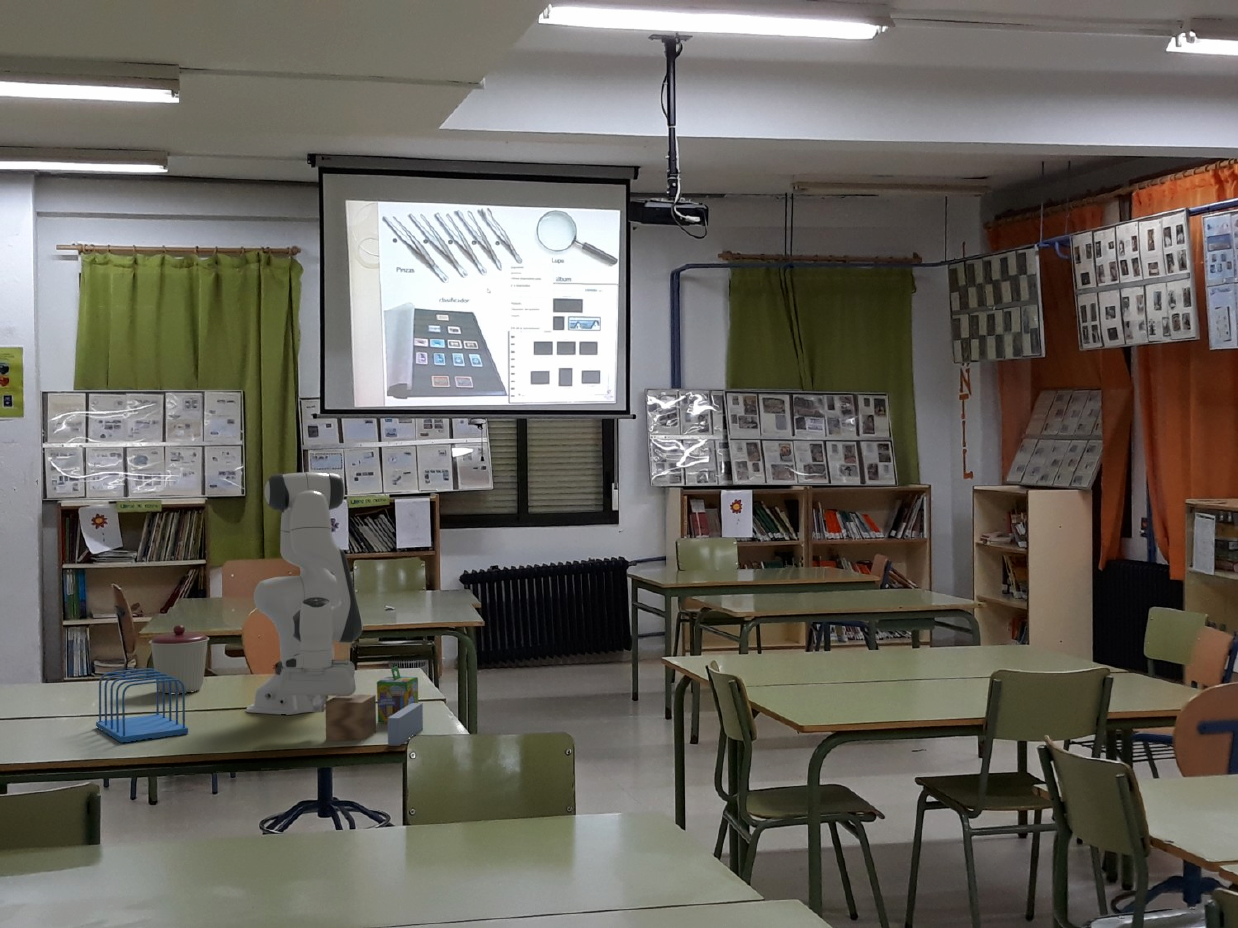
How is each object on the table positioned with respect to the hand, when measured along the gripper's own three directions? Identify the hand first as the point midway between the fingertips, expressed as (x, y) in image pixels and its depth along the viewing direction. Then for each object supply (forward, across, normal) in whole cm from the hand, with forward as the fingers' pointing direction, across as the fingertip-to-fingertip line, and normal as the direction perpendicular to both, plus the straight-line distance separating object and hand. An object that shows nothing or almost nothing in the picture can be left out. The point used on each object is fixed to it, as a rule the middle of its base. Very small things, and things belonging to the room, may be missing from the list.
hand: (318, 711), depth 329 cm
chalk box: (+6, -15, -20) cm, 26 cm away
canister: (+6, +69, -54) cm, 88 cm away
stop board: (+6, -24, 0) cm, 25 cm away
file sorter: (+6, +50, 0) cm, 51 cm away
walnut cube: (+6, -9, 0) cm, 11 cm away
